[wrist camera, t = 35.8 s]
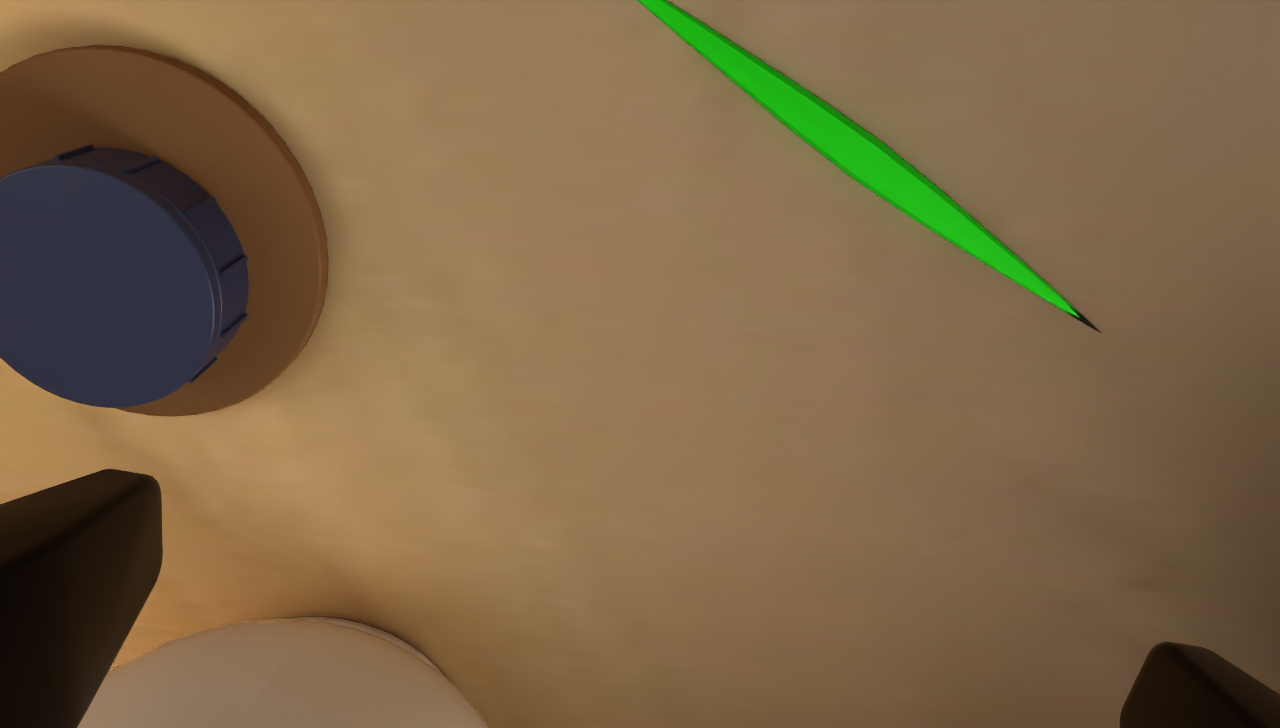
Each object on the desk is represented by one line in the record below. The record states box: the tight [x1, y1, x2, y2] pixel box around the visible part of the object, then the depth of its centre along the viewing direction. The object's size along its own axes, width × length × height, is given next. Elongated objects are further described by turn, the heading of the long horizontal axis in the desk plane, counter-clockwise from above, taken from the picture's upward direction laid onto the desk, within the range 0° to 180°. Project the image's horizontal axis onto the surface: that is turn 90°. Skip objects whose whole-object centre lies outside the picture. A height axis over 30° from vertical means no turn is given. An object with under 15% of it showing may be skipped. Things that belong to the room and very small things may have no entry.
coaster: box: [0, 45, 328, 416], centre depth 20 cm, size 8×8×1 cm
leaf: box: [638, 0, 1101, 333], centre depth 20 cm, size 1×14×1 cm, turn 56°
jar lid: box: [0, 144, 249, 408], centre depth 20 cm, size 5×5×2 cm
